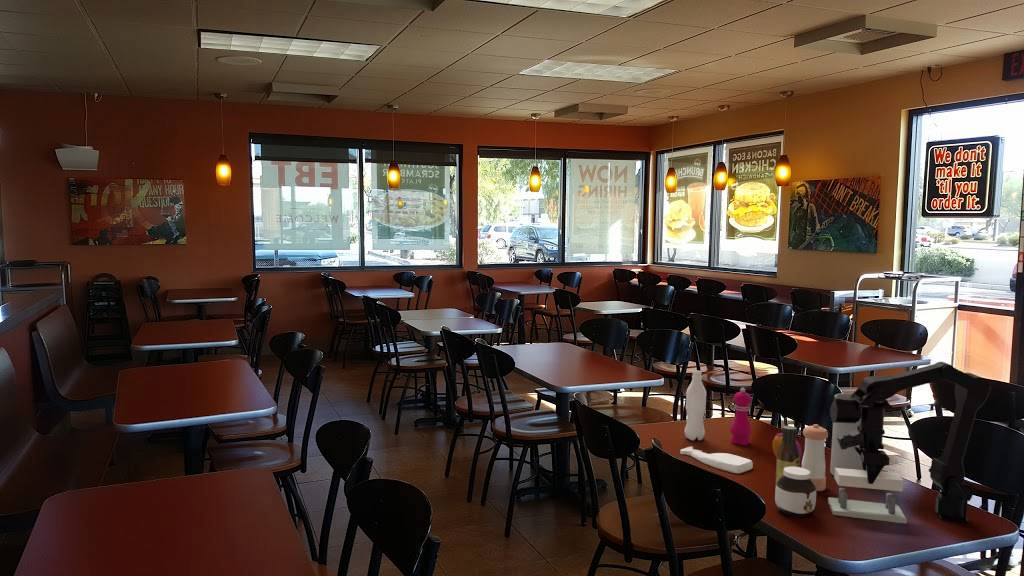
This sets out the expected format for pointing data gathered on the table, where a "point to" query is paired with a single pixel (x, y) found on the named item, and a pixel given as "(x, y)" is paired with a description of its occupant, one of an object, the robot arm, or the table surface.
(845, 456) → the cylinder vase
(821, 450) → the pepper shaker
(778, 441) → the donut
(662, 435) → the table surface
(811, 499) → the spread jar
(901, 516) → the peg stand
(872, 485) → the shelf board
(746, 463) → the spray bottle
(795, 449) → the sauce bottle
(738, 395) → the pepper mill
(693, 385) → the water bottle
